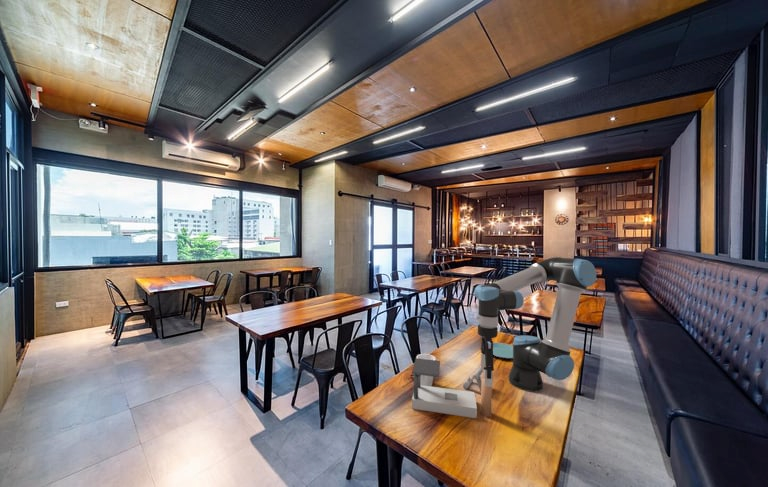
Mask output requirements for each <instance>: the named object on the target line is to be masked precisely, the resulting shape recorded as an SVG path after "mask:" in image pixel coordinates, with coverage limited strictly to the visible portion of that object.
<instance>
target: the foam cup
mask: <svg viewBox="0 0 768 487" xmlns="http://www.w3.org/2000/svg"><path fill="white" fill-rule="evenodd" d="M416 358H418V359H427V360H436V359H437V358H436V356H435V355H432V354H430V353H429V354H428V353H420V354H417V355H416V357H415V359H416ZM436 361H437V360H436ZM433 380H434V377H433V376H425V375H421V385H424V386H431V387H433Z"/></svg>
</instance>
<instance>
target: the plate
mask: <svg viewBox="0 0 768 487" xmlns="http://www.w3.org/2000/svg"><path fill="white" fill-rule="evenodd" d="M493 355H494V356H493V357H495V356H496V358H498V357H499V358H498V359H504V358H505V359H506V360H510V359H513V344H512V345H511V344H509V343H502V342H493ZM505 359H504V360H505Z"/></svg>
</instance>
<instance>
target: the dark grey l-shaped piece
mask: <svg viewBox="0 0 768 487" xmlns="http://www.w3.org/2000/svg"><path fill="white" fill-rule="evenodd" d="M440 367H441V361H440V360H427V359H418V358H416V357H415V360H414V364H413V366H412V371H411V374H412V375H413V392H414V399H418V388H420V387H421V375H425V376H433V378H434V377H435V378H439V377H440V369H441V368H440Z"/></svg>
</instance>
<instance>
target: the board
mask: <svg viewBox="0 0 768 487" xmlns="http://www.w3.org/2000/svg"><path fill="white" fill-rule="evenodd" d="M476 399H477V398H476V394H475V392H474V391H467V390H463V389H462V390H461V389H459V390H458V389H455V388H454V389H452V388H445V387H439V386H424V385H421V387H420V388H418V399H414V391H413V392H412V397H411V409H412V410H419V411H424V412H426V411H427V412H432V413H439V414H445V415H453V416H459V417H466V418H472V419H478V418H477V417H478V416H477V415H478V407H477V400H476Z"/></svg>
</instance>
